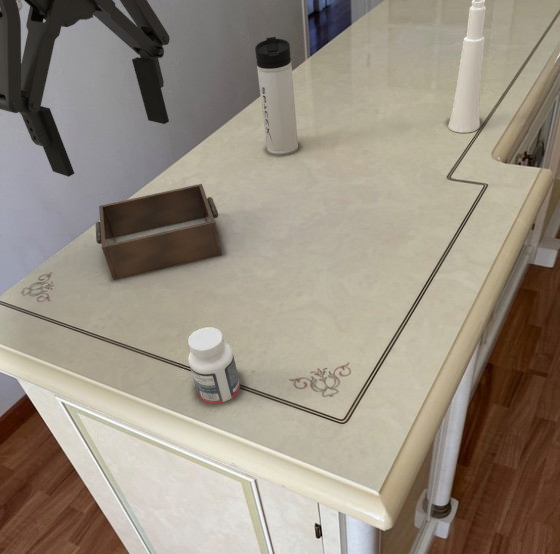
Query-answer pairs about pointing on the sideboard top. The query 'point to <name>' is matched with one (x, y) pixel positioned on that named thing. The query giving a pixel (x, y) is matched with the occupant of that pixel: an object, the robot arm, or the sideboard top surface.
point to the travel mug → (277, 96)
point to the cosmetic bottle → (470, 74)
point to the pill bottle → (212, 366)
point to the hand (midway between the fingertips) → (113, 145)
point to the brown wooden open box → (160, 246)
